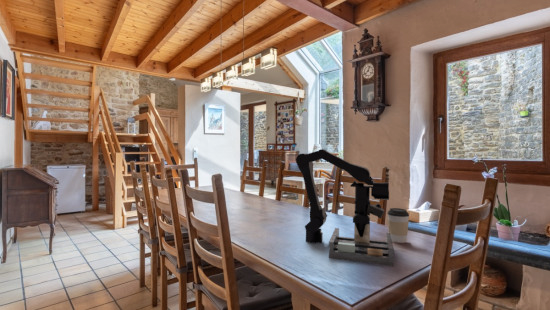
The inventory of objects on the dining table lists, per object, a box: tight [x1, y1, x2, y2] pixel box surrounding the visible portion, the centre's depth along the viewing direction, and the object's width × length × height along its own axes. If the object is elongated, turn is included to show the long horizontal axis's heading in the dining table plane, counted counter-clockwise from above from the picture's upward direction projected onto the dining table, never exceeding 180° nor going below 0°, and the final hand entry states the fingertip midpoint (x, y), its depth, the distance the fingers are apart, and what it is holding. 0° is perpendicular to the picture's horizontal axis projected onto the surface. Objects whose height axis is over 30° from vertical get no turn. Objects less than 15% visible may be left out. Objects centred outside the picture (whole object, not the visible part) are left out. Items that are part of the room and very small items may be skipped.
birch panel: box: [353, 223, 371, 243], centre depth 121 cm, size 6×2×9 cm, turn 72°
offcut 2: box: [368, 248, 383, 256], centre depth 106 cm, size 5×2×4 cm, turn 72°
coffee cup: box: [386, 207, 410, 244], centre depth 130 cm, size 9×9×15 cm
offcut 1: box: [338, 242, 355, 253], centre depth 109 cm, size 6×2×5 cm, turn 72°
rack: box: [328, 227, 395, 267], centre depth 114 cm, size 22×20×7 cm
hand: (361, 236), depth 121 cm, fingers closed on birch panel, 2 cm apart
